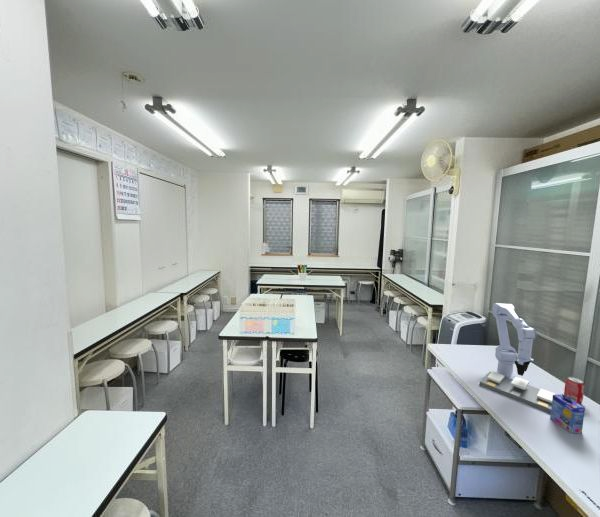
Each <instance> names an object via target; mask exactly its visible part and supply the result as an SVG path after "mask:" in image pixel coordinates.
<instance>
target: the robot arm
mask: <svg viewBox="0 0 600 517" xmlns="http://www.w3.org/2000/svg"><path fill="white" fill-rule="evenodd" d="M491 309H492V310H491V311H492V315H493V317H494V318H495V323H496V328H497V334H498V340H499V345H497V346H496V347H495V354H494V355H495V358H496V359H497V367H496V368H497V370H496V371H495V372H496V373H499V374H502V375H505V377H507V378H510V379H514V376H515V374H514V373H513V372H514V365H515V366H516V372H517V375H519V376H521V377H523V376H524V374H525V372H526V371H527V370H528V368H529V365H530V363H531V362H534V358H532V352H533V350H532V349H533V345H534V340H535V339H536V338H537V334H538V333H537V330H536V329H535V327H531V326H529V325H528V324H527V323H526V321H525V320H524V319H523V318H519V316H518V314H517V313H516V311H515V310H516V309H515V306H514V305H513V304H512V303H498V302H495V303H493V304H492V307H491ZM507 319H510V320H511V321H512V322H511V324H512V326H513V327H514V328H515V329H516V331H517V332H516V333H517V339H518V348H517V350H516V349H515V348H514V347H513V346H511V342H510V337H509V331H508V324H507Z"/></svg>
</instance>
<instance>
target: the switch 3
mask: <svg viewBox="0 0 600 517" xmlns="http://www.w3.org/2000/svg"><path fill="white" fill-rule="evenodd" d="M539 389H540V391H539V392H538V394H537V398H539V399H542V400H545V401H547V402H550V403H552V399H553V395H557V394H556V392H553V391H549V390H546V389H544V388H539Z"/></svg>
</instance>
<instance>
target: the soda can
mask: <svg viewBox="0 0 600 517" xmlns="http://www.w3.org/2000/svg"><path fill="white" fill-rule="evenodd" d="M584 383H585V382H584V381H583V380H582V379H580V378H577V377H573V376H567V378H566V379H565V383H564V389H563V390H564V391H563V395H565V396H567V397H568V398H570V399H571V400H573V401H574V402H576V403H578V404H580V405H581V404H582V403H583V400H584V393H585V385H586V384H584Z"/></svg>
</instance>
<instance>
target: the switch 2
mask: <svg viewBox="0 0 600 517" xmlns="http://www.w3.org/2000/svg"><path fill="white" fill-rule="evenodd" d="M512 379H513V381H512V382H511V385H513V386H515V387H518V388H521V389H523V390H525V389H526V387H527V386H528V385H529V384H530V381H529V380H526V379H524V378H521V377H519V376H515V377H513V378H512Z"/></svg>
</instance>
